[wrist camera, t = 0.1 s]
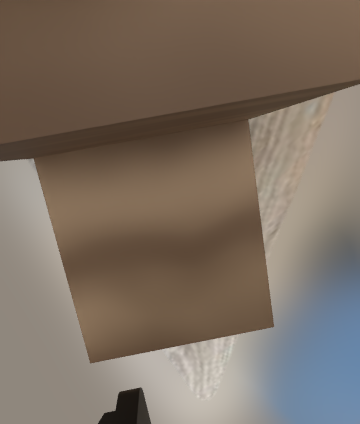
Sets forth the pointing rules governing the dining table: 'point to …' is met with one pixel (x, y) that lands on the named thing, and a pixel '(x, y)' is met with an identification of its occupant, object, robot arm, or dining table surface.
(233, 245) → the stepped stand
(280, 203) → the dining table surface
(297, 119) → the dining table surface
